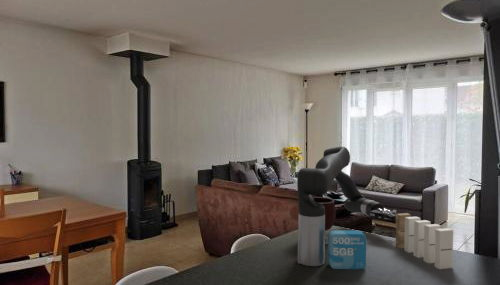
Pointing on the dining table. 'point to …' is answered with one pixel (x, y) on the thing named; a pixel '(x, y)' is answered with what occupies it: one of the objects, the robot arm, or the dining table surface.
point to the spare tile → (400, 229)
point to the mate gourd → (327, 212)
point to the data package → (346, 249)
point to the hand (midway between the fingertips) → (395, 218)
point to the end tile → (443, 248)
